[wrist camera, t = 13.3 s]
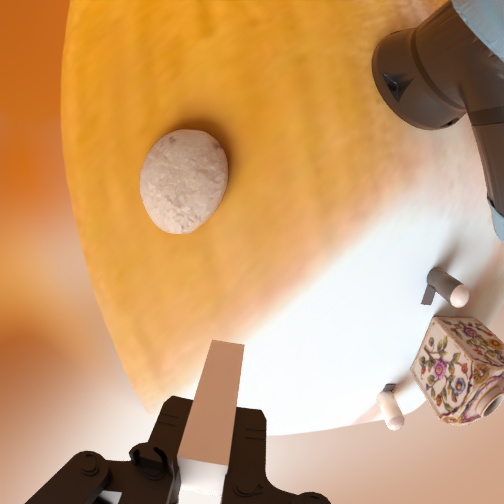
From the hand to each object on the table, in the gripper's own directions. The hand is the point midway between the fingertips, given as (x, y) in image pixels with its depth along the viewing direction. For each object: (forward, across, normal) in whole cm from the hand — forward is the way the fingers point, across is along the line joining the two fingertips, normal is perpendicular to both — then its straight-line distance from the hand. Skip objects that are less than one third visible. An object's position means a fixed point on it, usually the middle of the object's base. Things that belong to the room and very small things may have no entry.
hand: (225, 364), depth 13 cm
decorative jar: (+25, +36, -13) cm, 46 cm away
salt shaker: (+24, +28, -25) cm, 45 cm away
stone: (+25, -9, +7) cm, 27 cm away
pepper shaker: (+24, +28, -1) cm, 37 cm away
